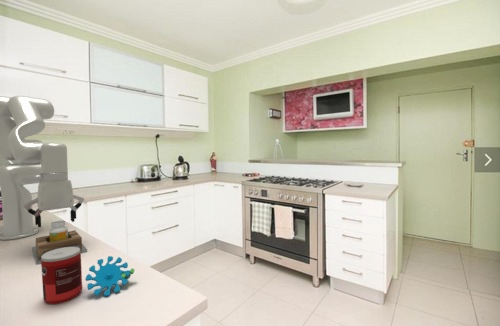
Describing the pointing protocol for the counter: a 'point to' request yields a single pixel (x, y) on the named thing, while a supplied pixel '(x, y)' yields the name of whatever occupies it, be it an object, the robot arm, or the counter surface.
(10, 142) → the robot arm
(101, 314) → the counter surface
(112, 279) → the gear
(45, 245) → the frame
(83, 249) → the jig plate
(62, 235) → the supplement bottle
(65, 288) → the canned food
